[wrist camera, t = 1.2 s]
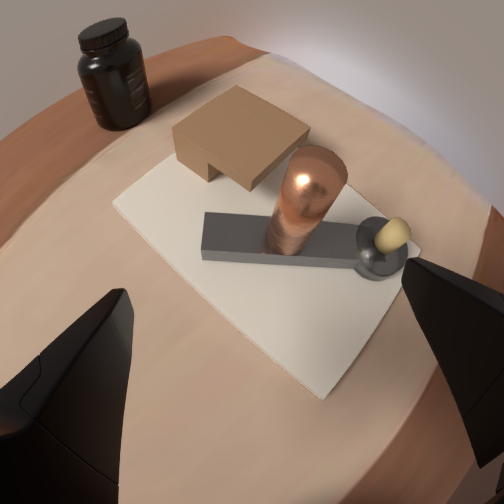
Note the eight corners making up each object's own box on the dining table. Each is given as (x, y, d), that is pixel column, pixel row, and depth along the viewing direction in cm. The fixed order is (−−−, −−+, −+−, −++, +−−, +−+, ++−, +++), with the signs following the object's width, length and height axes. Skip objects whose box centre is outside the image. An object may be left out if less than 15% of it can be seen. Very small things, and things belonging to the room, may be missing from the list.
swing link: (391, 229, 25) (456, 166, 16) (399, 282, 23) (478, 233, 14) (207, 213, 23) (202, 121, 14) (201, 272, 22) (188, 200, 12)
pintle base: (415, 253, 26) (452, 227, 20) (319, 398, 20) (351, 407, 15) (239, 115, 30) (243, 72, 24) (114, 207, 24) (93, 167, 19)
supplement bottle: (137, 88, 31) (123, 8, 20) (162, 113, 29) (149, 21, 18) (89, 114, 29) (62, 34, 18) (108, 142, 27) (76, 51, 16)
